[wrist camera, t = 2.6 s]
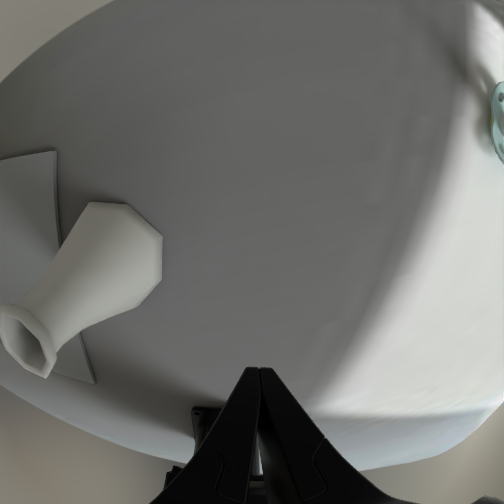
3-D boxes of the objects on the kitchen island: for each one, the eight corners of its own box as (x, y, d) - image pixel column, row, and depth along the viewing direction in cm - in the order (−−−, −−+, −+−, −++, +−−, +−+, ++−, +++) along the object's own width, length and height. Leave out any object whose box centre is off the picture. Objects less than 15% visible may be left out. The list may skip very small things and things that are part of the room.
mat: (96, 382, 21) (94, 384, 20) (8, 351, 20) (6, 353, 20) (56, 150, 14) (53, 150, 14) (-33, 168, 14) (-36, 169, 13)
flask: (85, 182, 15) (-37, 224, 6) (182, 227, 16) (109, 323, 7) (65, 275, 17) (-20, 354, 8) (148, 318, 18) (93, 432, 9)
